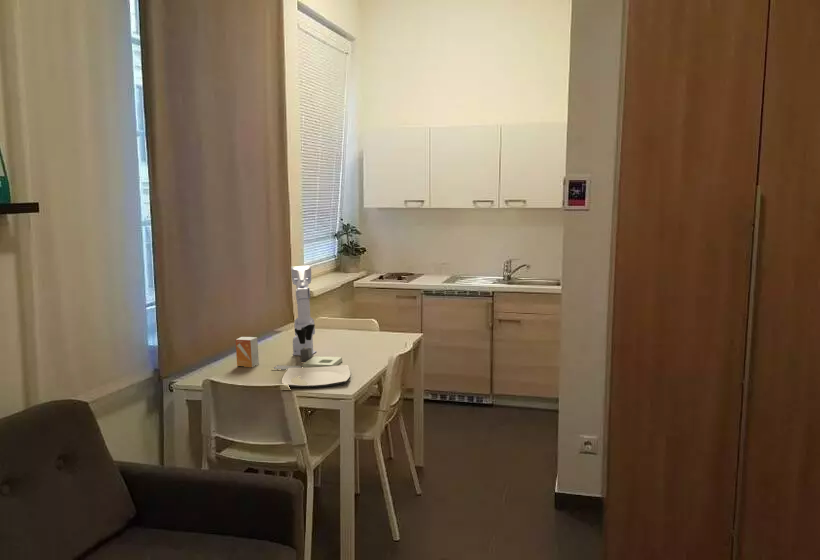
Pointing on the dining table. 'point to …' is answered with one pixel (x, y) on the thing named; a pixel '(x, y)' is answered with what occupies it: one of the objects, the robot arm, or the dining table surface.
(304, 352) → the charger
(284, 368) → the phone
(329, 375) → the plate
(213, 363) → the dining table surface
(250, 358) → the small box
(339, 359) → the outlet board
